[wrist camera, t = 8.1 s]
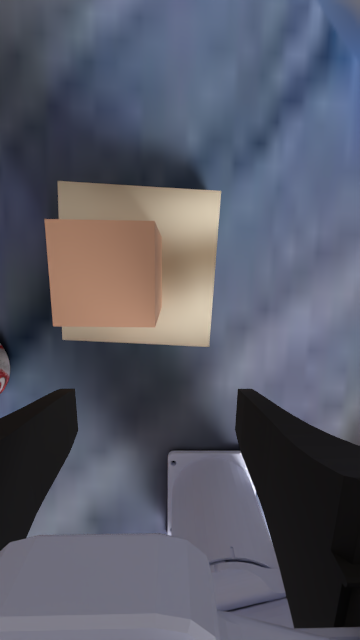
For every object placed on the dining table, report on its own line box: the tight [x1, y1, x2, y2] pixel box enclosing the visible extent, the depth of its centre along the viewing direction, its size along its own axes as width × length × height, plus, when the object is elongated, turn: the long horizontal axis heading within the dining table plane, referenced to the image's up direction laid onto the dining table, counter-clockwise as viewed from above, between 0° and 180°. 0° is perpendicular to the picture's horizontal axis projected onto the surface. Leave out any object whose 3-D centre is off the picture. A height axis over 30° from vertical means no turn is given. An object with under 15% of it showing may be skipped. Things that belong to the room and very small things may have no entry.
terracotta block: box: [45, 219, 162, 327], centre depth 14 cm, size 4×4×6 cm
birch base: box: [58, 181, 221, 347], centre depth 19 cm, size 10×10×4 cm
